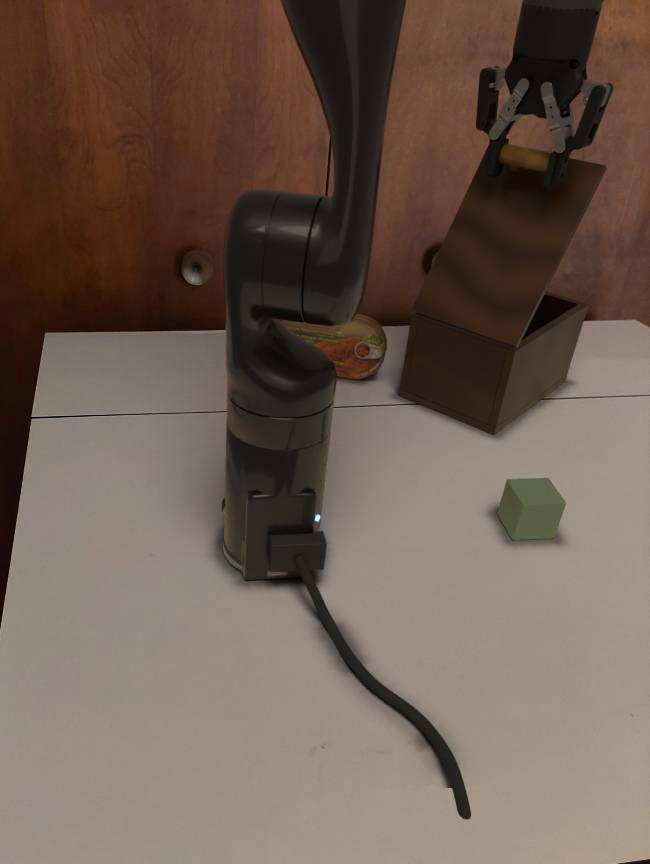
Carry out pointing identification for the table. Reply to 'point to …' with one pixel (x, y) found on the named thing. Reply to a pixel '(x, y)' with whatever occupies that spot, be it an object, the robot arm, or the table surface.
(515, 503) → the block
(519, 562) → the table surface
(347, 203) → the robot arm
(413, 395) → the chest
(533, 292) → the lid
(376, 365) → the tin
